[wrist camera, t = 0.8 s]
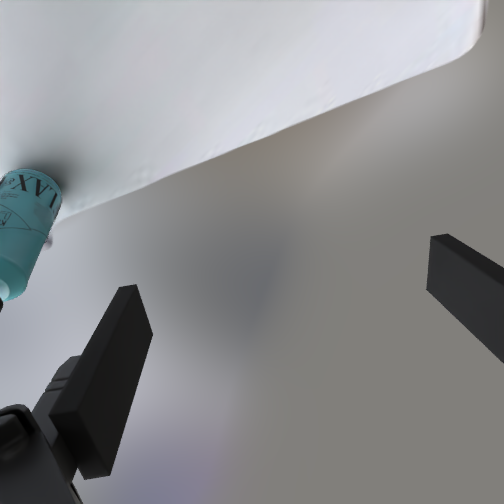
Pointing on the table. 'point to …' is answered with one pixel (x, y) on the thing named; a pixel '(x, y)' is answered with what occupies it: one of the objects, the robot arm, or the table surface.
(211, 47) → the table surface
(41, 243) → the beverage bottle
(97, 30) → the table surface
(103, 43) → the table surface
